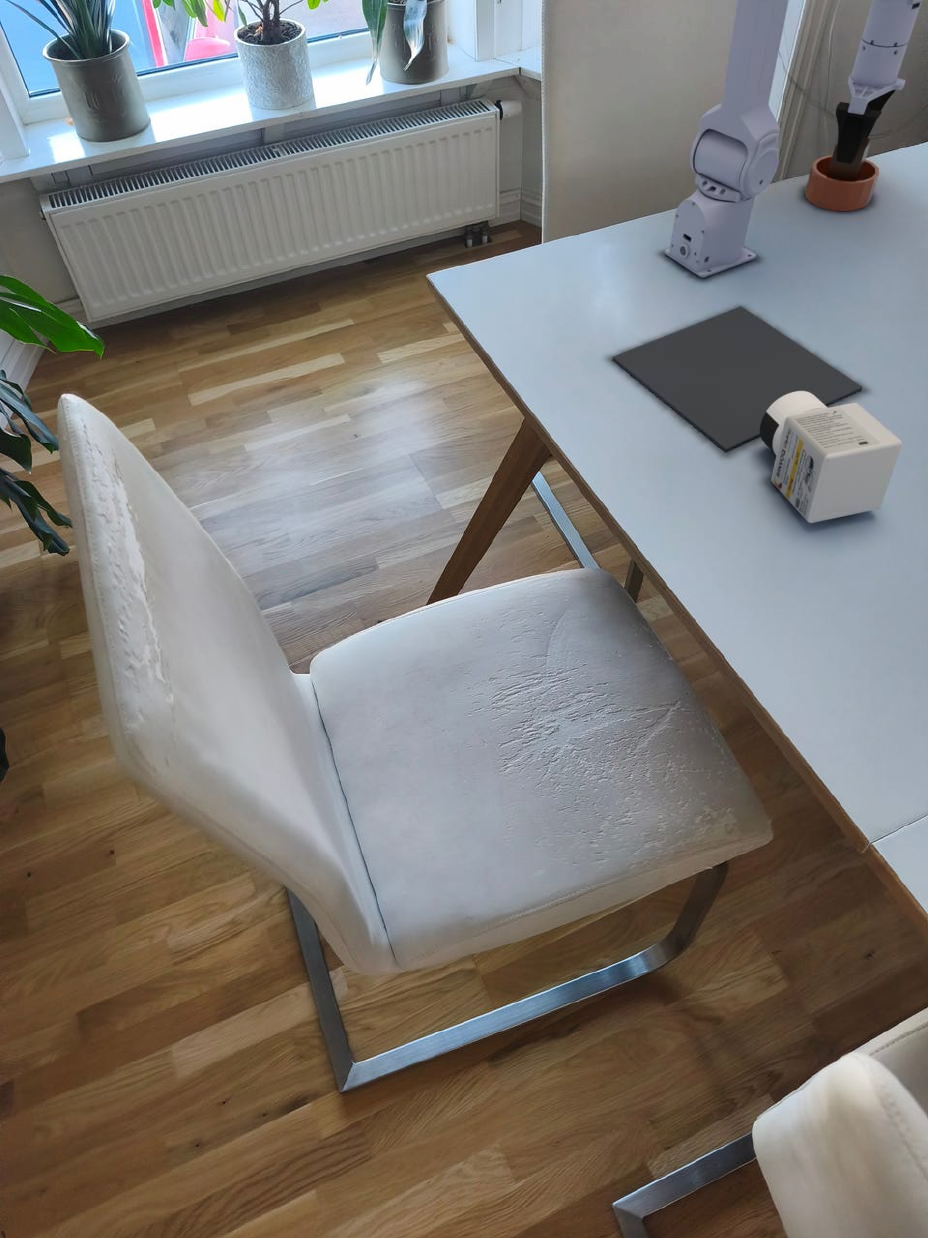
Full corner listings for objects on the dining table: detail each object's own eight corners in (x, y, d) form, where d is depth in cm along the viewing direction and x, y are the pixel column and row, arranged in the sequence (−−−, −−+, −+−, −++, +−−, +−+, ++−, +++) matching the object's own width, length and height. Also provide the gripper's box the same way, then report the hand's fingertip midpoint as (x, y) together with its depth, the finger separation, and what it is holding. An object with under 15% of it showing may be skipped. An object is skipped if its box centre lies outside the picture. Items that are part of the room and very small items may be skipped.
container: (808, 525, 82) (744, 454, 91) (881, 509, 83) (811, 441, 92) (827, 457, 76) (757, 388, 85) (905, 441, 77) (827, 375, 86)
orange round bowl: (837, 217, 121) (846, 188, 118) (791, 192, 126) (799, 164, 123) (883, 200, 124) (893, 171, 121) (836, 176, 129) (844, 149, 126)
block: (848, 200, 123) (865, 149, 117) (820, 195, 124) (835, 144, 119) (855, 189, 125) (871, 138, 119) (828, 184, 126) (842, 133, 121)
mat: (725, 451, 90) (726, 448, 90) (612, 359, 101) (612, 356, 101) (861, 389, 96) (862, 386, 96) (740, 308, 107) (741, 305, 107)
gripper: (905, 62, 104) (867, 177, 115) (929, 25, 112) (892, 135, 123) (846, 54, 107) (815, 167, 117) (874, 18, 114) (842, 127, 125)
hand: (851, 150), depth 120 cm, fingers open, 7 cm apart
